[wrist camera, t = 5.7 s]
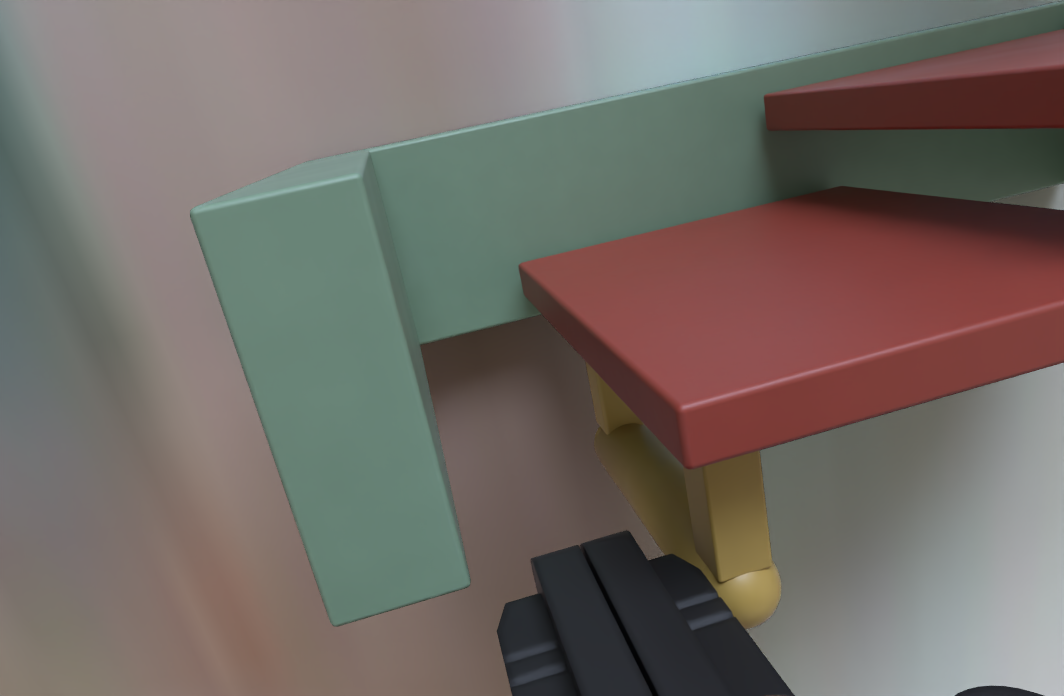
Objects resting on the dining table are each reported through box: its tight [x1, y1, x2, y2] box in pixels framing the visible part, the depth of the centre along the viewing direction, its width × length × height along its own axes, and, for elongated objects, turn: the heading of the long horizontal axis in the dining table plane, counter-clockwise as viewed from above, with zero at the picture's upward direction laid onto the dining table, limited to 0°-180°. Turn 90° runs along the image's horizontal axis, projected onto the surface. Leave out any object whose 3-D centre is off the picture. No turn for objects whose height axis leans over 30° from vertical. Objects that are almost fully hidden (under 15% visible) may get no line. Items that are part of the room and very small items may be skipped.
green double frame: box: [190, 0, 1064, 627], centre depth 13 cm, size 4×20×11 cm, turn 102°
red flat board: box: [518, 186, 1064, 629], centre depth 13 cm, size 4×8×9 cm, turn 102°
